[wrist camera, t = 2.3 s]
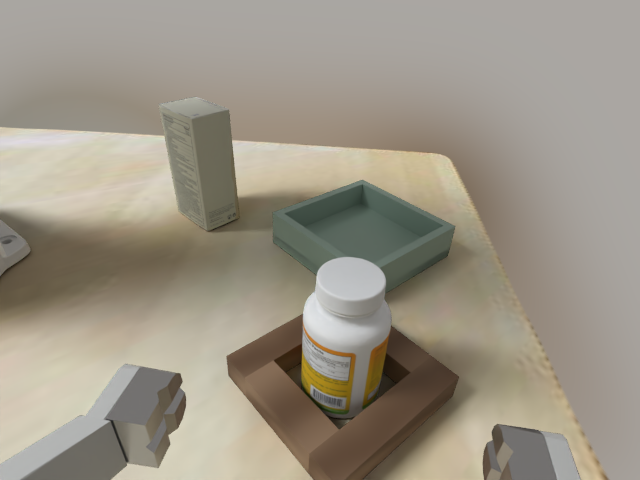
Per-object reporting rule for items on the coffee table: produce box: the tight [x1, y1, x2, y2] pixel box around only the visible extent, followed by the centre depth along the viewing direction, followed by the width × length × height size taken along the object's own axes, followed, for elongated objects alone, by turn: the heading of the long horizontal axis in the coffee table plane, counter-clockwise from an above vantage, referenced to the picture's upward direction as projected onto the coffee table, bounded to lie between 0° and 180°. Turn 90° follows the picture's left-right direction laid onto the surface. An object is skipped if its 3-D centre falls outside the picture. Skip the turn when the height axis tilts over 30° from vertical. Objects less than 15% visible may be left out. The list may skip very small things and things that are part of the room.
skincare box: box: [159, 97, 239, 231], centre depth 45 cm, size 6×4×12 cm
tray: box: [273, 180, 455, 293], centre depth 43 cm, size 13×13×4 cm
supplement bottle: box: [301, 257, 391, 418], centre depth 27 cm, size 5×5×10 cm
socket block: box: [227, 314, 459, 480], centre depth 29 cm, size 11×11×2 cm
